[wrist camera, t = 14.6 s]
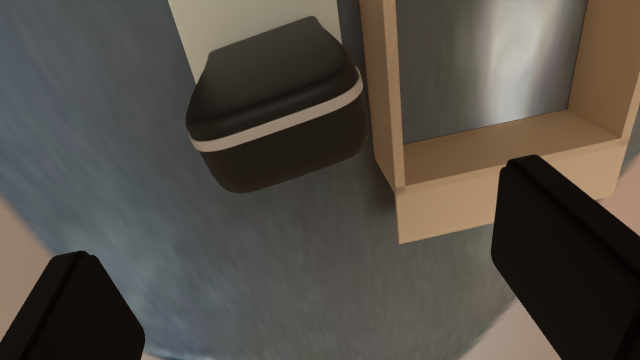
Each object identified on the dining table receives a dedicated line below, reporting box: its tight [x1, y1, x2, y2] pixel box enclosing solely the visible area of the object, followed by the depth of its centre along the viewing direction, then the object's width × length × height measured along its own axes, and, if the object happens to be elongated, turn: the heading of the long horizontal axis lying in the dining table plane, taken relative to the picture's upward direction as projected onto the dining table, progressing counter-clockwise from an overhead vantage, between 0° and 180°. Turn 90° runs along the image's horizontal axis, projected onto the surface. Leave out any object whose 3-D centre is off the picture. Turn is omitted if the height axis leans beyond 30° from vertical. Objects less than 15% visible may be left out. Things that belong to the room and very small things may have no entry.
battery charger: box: [186, 16, 370, 193], centre depth 19 cm, size 7×4×11 cm, turn 108°
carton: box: [359, 0, 640, 244], centre depth 23 cm, size 15×22×5 cm
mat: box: [168, 0, 342, 85], centre depth 24 cm, size 9×12×1 cm
